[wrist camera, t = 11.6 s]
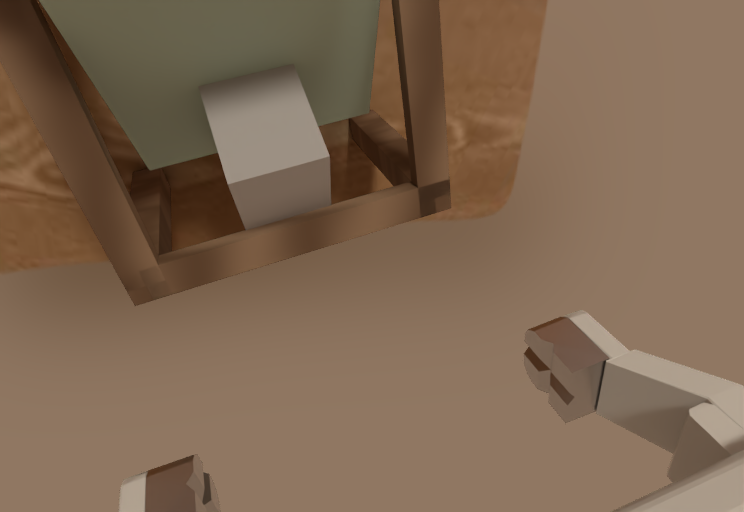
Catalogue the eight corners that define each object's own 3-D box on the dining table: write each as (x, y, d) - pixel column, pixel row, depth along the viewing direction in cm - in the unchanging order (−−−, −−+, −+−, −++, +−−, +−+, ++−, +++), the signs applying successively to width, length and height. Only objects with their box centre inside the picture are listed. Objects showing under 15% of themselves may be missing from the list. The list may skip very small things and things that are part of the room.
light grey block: (198, 86, 26) (227, 184, 24) (293, 63, 27) (329, 156, 25) (219, 144, 30) (245, 230, 28) (300, 123, 31) (331, 205, 29)
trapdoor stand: (144, 196, 39) (132, 335, 26) (5, -105, 28) (-139, -131, 15) (375, 133, 42) (470, 227, 29) (333, -157, 31) (455, -215, 18)
